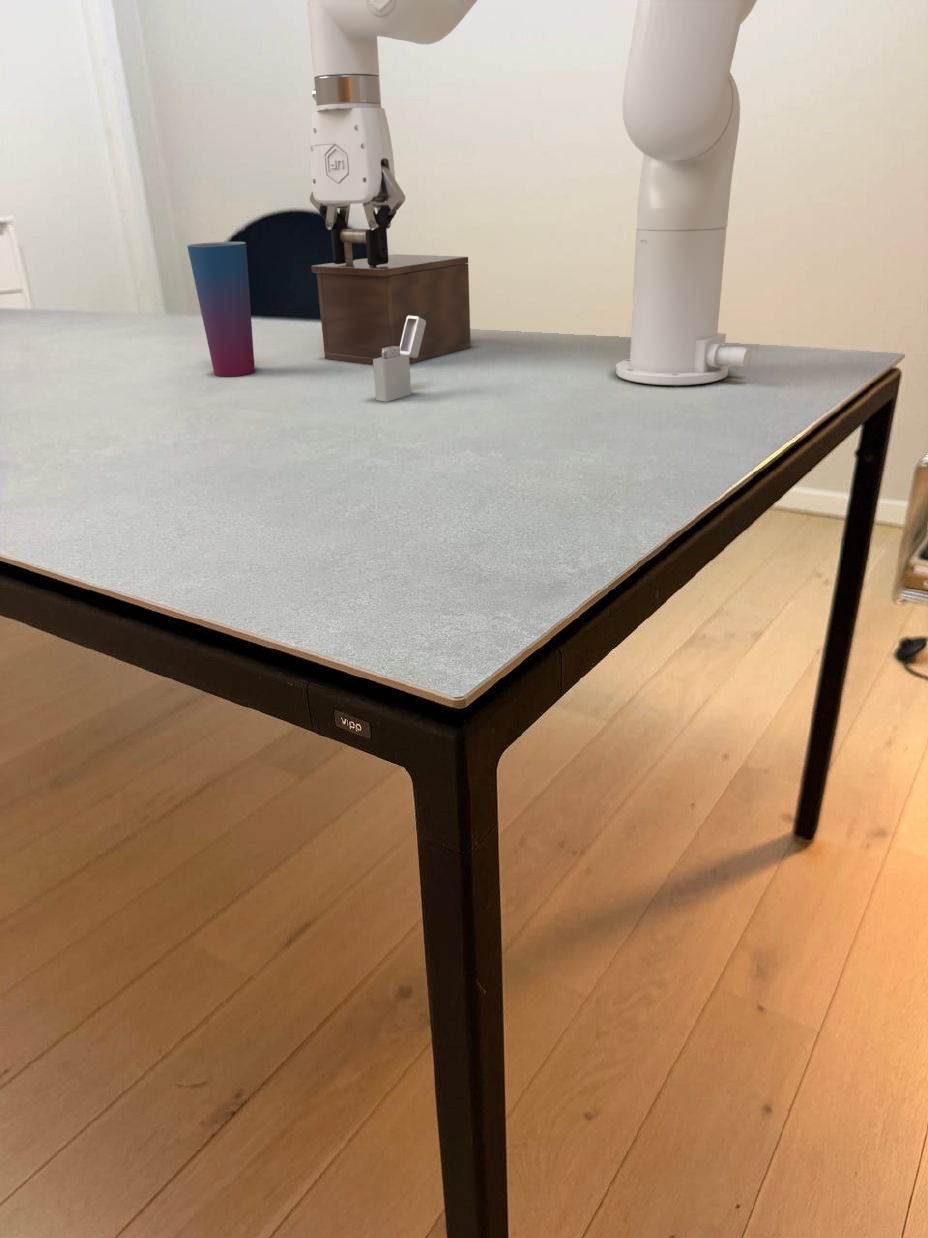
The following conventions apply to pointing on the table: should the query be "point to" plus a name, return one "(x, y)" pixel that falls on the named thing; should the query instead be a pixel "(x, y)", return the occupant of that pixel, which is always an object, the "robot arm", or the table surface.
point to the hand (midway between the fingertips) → (360, 261)
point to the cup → (225, 304)
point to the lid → (393, 267)
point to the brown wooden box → (394, 312)
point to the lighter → (398, 362)
